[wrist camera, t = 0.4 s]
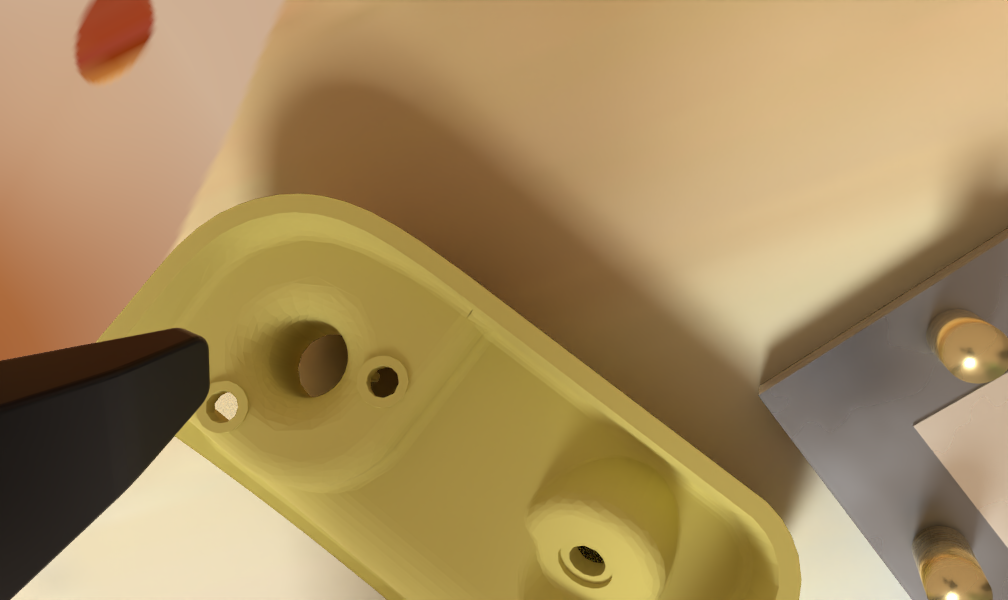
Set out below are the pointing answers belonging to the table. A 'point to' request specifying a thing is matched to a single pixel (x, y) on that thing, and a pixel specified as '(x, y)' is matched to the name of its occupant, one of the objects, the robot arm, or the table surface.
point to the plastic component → (442, 424)
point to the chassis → (917, 427)
